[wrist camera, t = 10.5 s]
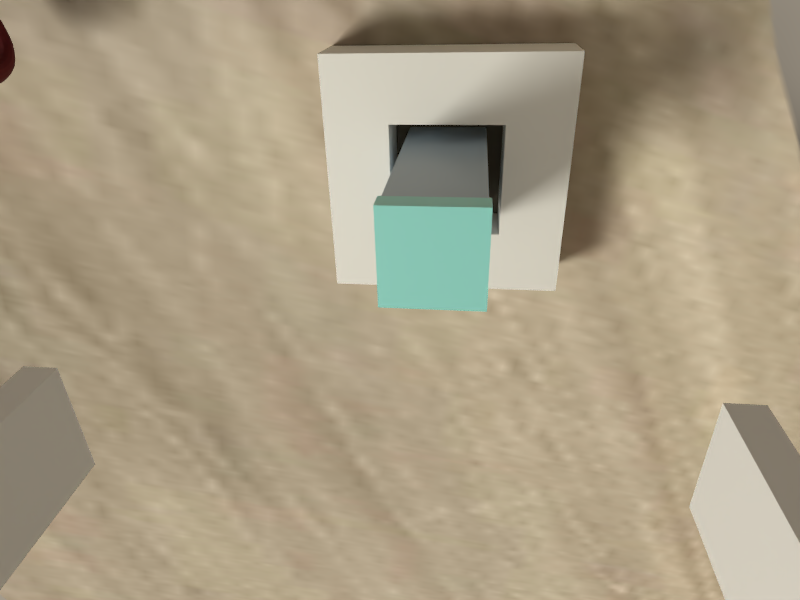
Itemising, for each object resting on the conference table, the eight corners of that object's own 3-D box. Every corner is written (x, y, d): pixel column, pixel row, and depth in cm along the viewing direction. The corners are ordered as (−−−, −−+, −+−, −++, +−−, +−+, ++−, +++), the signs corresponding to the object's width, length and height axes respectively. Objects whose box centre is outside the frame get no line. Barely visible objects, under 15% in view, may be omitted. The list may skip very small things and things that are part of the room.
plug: (408, 124, 31) (373, 205, 21) (488, 125, 31) (492, 207, 20) (409, 200, 33) (378, 307, 23) (484, 201, 33) (486, 311, 22)
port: (331, 45, 30) (317, 53, 27) (575, 43, 28) (584, 50, 26) (347, 259, 36) (337, 283, 33) (549, 266, 34) (555, 290, 32)
